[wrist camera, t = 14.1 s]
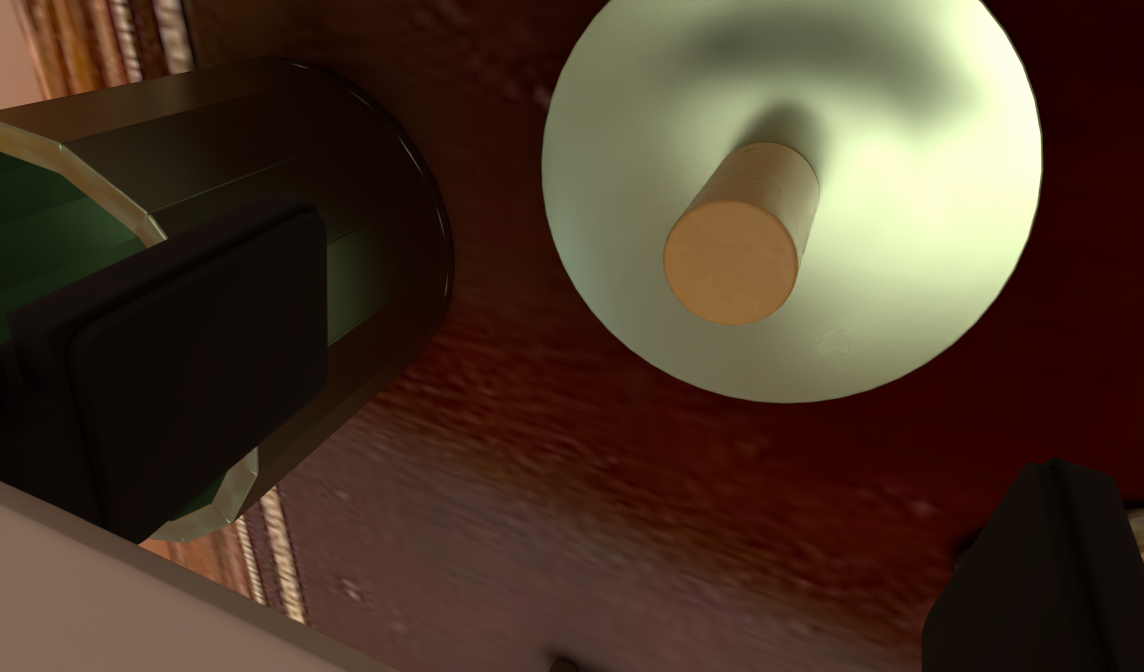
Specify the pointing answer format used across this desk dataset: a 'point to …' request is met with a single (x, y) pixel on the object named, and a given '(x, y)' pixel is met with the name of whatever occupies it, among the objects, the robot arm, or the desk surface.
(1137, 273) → the desk surface
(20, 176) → the tin
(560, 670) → the brown thin branching figure
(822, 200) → the lid
